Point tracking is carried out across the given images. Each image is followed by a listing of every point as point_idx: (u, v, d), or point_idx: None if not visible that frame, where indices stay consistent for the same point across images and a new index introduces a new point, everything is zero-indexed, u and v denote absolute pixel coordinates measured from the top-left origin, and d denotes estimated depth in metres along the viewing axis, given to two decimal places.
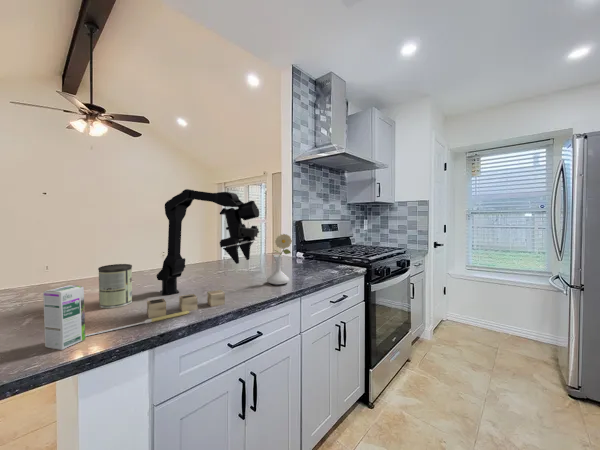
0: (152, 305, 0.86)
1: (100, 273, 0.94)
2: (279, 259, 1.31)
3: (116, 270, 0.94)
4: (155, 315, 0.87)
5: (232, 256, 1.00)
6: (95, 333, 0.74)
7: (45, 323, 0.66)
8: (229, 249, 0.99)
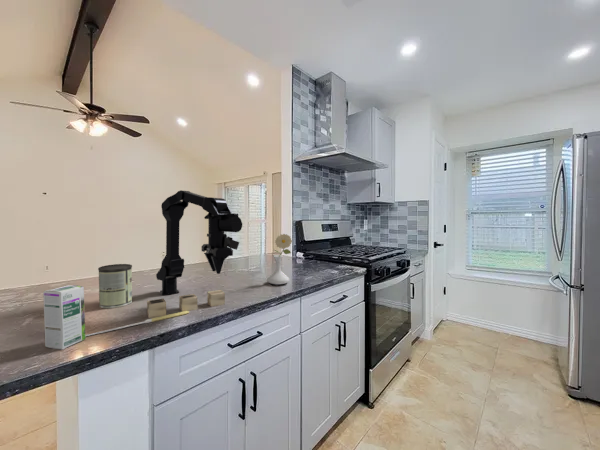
0: (152, 305, 0.86)
1: (100, 273, 0.94)
2: (279, 259, 1.31)
3: (116, 270, 0.94)
4: (155, 315, 0.87)
5: (217, 266, 0.97)
6: (95, 333, 0.74)
7: (45, 323, 0.66)
8: (216, 258, 0.96)
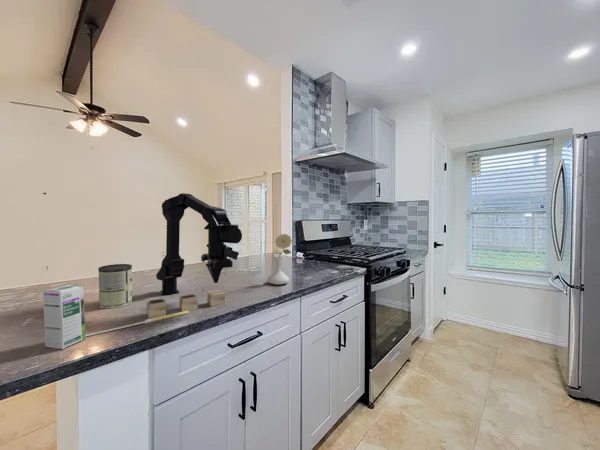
0: (152, 305, 0.86)
1: (100, 273, 0.94)
2: (279, 259, 1.31)
3: (116, 270, 0.94)
4: (155, 315, 0.87)
5: (214, 275, 0.99)
6: (95, 333, 0.74)
7: (45, 323, 0.66)
8: (214, 268, 0.98)
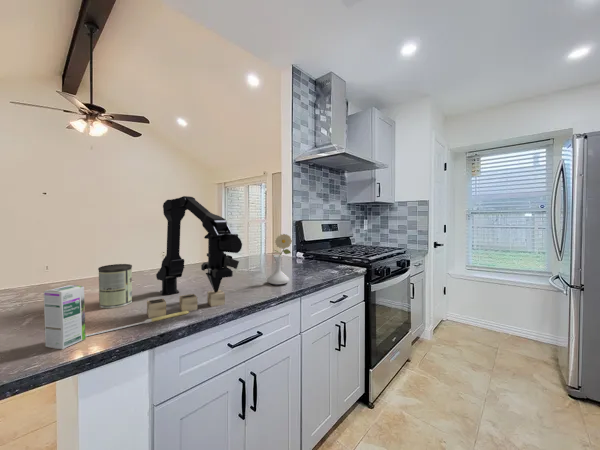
0: (152, 305, 0.86)
1: (100, 273, 0.94)
2: (279, 259, 1.31)
3: (116, 270, 0.94)
4: (155, 315, 0.87)
5: (214, 284, 0.99)
6: (95, 333, 0.74)
7: (45, 323, 0.66)
8: (214, 277, 0.98)
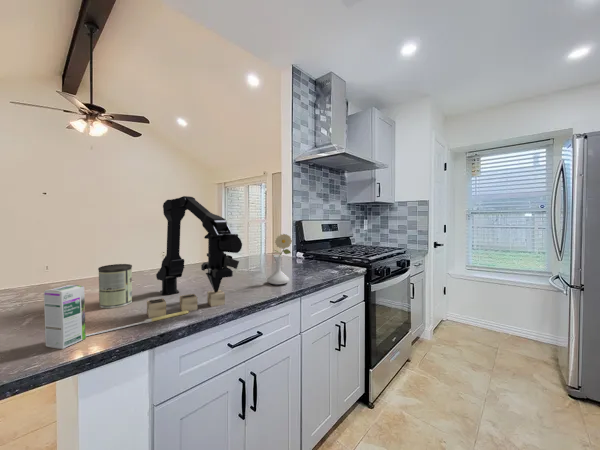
0: (152, 305, 0.86)
1: (100, 273, 0.94)
2: (279, 259, 1.31)
3: (116, 270, 0.94)
4: (155, 315, 0.87)
5: (214, 284, 0.99)
6: (95, 333, 0.74)
7: (46, 322, 0.66)
8: (214, 277, 0.98)
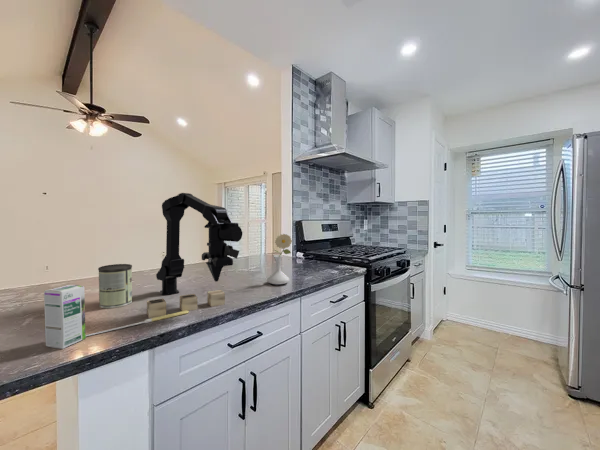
0: (152, 305, 0.86)
1: (100, 273, 0.94)
2: (279, 259, 1.31)
3: (116, 270, 0.94)
4: (155, 315, 0.87)
5: (215, 274, 0.99)
6: (95, 333, 0.74)
7: (46, 322, 0.66)
8: (214, 266, 0.98)
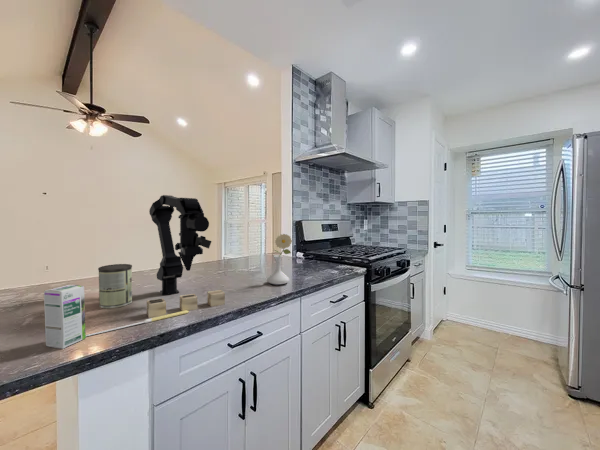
0: (152, 305, 0.86)
1: (100, 273, 0.94)
2: (279, 259, 1.31)
3: (116, 270, 0.94)
4: (155, 315, 0.87)
5: (186, 263, 1.01)
6: (95, 333, 0.74)
7: (46, 322, 0.66)
8: (186, 256, 1.01)
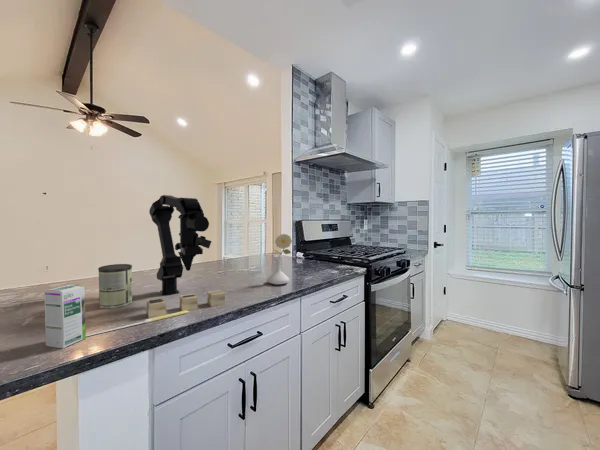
0: (152, 305, 0.86)
1: (100, 273, 0.94)
2: (279, 259, 1.31)
3: (116, 270, 0.94)
4: (155, 315, 0.87)
5: (186, 263, 1.01)
6: (95, 333, 0.74)
7: (46, 322, 0.66)
8: (186, 256, 1.01)
